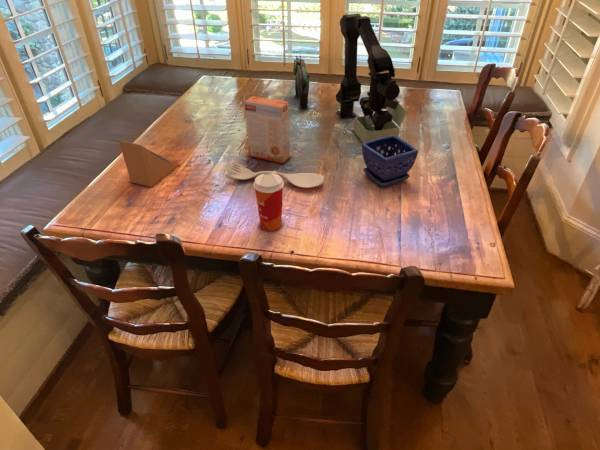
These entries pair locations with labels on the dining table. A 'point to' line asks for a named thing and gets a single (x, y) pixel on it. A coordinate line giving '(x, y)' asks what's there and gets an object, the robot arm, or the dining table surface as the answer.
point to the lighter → (370, 123)
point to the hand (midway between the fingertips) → (373, 130)
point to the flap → (398, 114)
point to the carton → (368, 135)
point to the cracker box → (268, 129)
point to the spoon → (297, 179)
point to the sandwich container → (144, 164)
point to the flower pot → (388, 160)
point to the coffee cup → (269, 200)
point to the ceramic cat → (301, 82)
